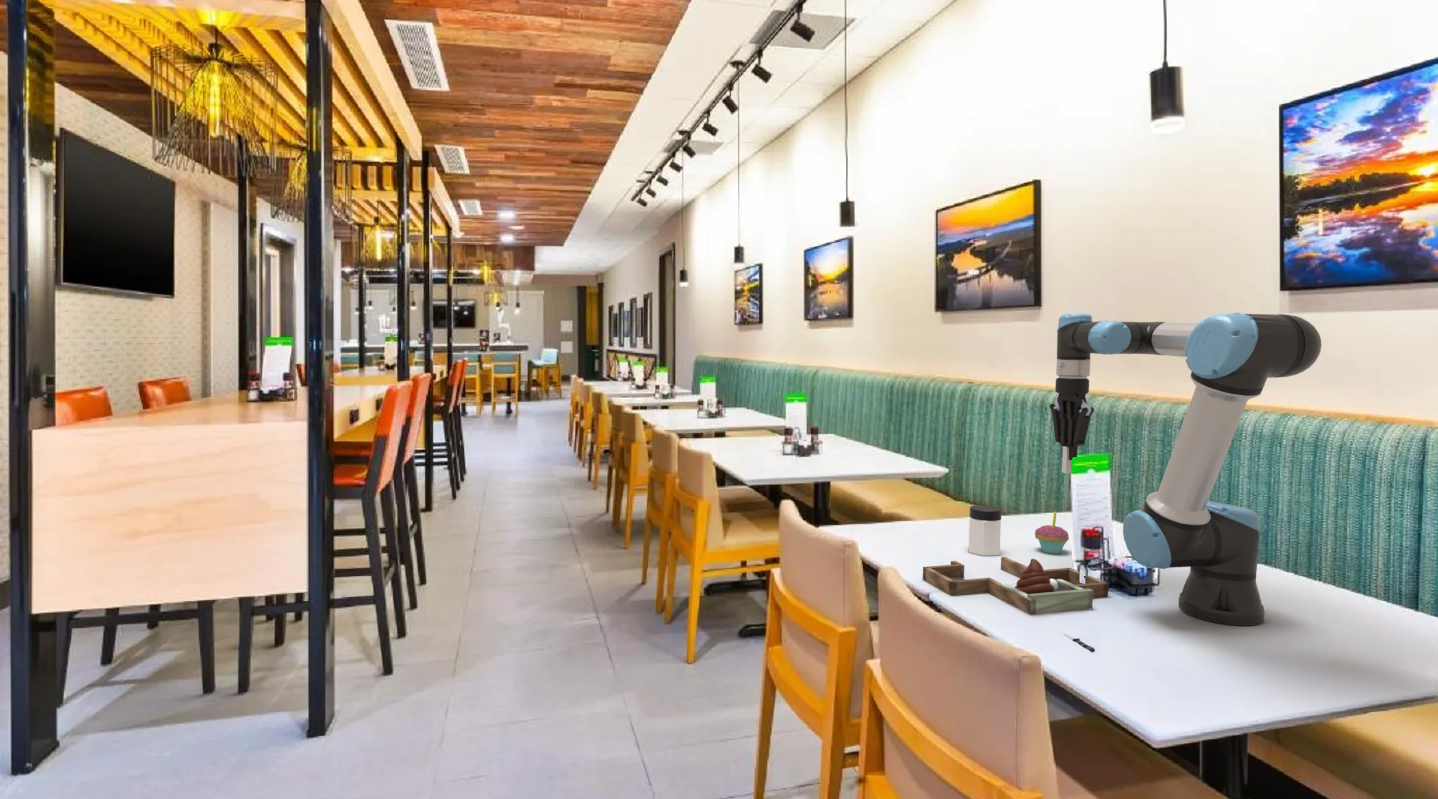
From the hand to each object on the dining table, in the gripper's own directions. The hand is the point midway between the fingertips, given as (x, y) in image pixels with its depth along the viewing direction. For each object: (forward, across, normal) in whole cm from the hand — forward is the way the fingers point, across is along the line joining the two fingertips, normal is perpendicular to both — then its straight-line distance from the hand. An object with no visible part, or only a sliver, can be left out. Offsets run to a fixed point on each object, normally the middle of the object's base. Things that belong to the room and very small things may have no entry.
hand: (1068, 472), depth 193 cm
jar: (+25, -19, -10) cm, 33 cm away
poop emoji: (+25, +19, -23) cm, 39 cm away
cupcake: (+25, -15, +8) cm, 30 cm away
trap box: (+24, +11, -22) cm, 35 cm away
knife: (+25, +36, -31) cm, 54 cm away
